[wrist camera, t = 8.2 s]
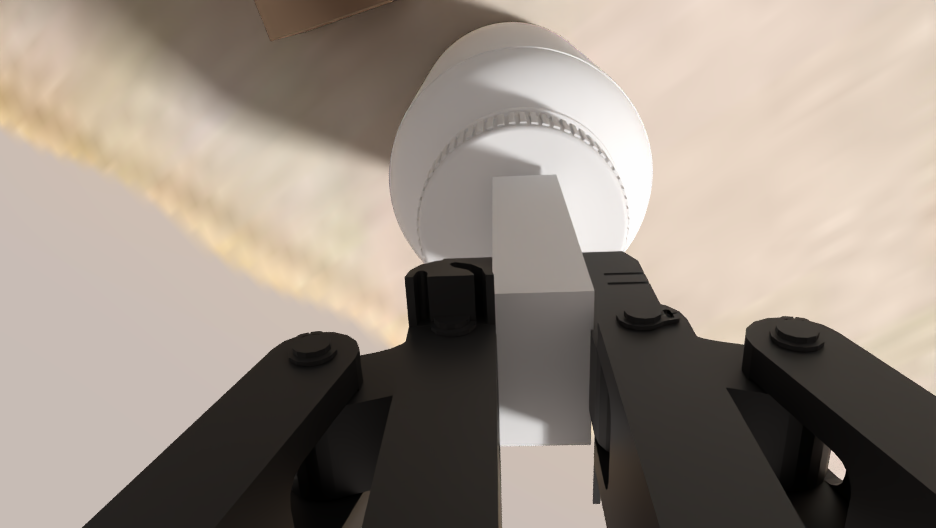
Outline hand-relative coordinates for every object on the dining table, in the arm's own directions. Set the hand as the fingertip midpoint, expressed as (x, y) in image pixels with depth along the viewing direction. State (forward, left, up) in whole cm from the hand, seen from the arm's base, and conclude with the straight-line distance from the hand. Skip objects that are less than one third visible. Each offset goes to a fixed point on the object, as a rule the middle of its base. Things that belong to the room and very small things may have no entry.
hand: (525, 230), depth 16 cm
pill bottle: (0, 0, -16) cm, 16 cm away
